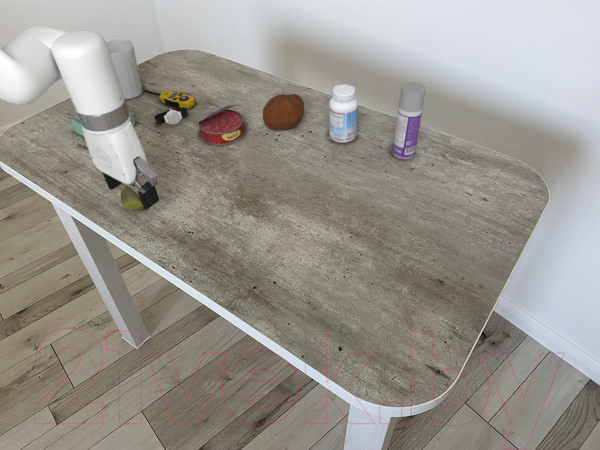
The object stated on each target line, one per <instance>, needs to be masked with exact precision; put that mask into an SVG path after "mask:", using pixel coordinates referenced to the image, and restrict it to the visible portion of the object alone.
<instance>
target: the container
mask: <svg viewBox="0 0 600 450" xmlns="http://www.w3.org/2000/svg"><path fill="white" fill-rule="evenodd" d="M425 95H426V86H425V85H424V84H423V83H420V82H416V81H408V82H405V83H402V85H401V89H400V94H399V100H398V107H397V114H396V122H395V127H394V135H393V142H392V150H391V153H392V155H393V156H394V157H395V158H397V159H399V160H410V159H412V158H414V156H415V155H416V148H417V143H418V137H419V132H420V126H421V121H422V115H423V110H424V109H423V108H424V102H425Z"/></svg>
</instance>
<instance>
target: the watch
mask: <svg viewBox="0 0 600 450" xmlns="http://www.w3.org/2000/svg"><path fill="white" fill-rule="evenodd" d="M188 116H189V112H188V109H187V108H169V109H168V110H165V111H161V112H159V113H157V114H155V115H154V121H155V123H156V124H157V125H162V124H170V125H177V124H179V123H180V121H181V120H182V119H184V118H186V117H188Z"/></svg>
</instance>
